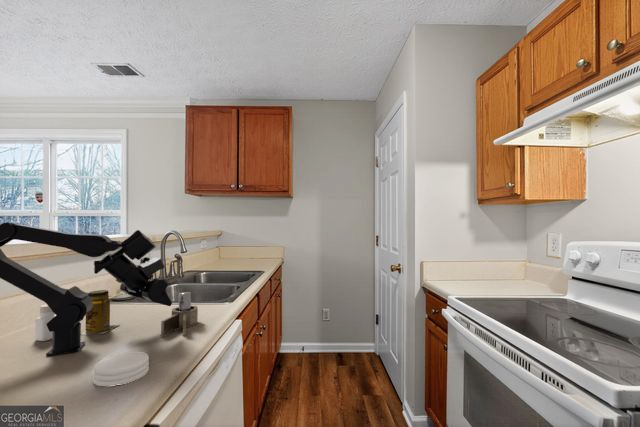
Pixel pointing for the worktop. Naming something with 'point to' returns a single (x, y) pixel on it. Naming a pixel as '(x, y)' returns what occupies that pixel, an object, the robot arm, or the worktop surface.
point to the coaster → (121, 368)
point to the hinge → (179, 320)
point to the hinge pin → (184, 301)
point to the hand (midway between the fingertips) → (163, 302)
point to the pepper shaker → (43, 324)
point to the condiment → (99, 314)
